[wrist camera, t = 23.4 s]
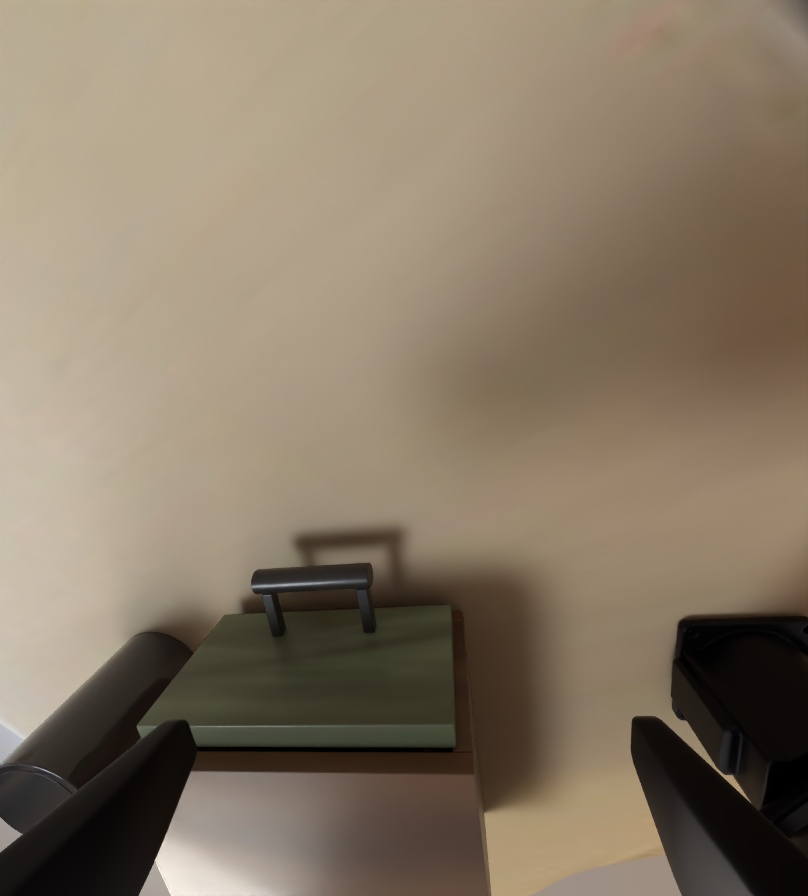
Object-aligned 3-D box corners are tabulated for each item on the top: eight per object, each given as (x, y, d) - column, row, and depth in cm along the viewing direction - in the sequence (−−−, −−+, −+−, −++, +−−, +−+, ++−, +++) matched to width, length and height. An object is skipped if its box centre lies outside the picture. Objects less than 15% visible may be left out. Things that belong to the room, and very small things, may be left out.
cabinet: (228, 620, 24) (114, 770, 15) (462, 610, 22) (475, 774, 14) (284, 808, 28) (218, 1003, 20) (484, 814, 26) (503, 1031, 18)
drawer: (207, 557, 21) (104, 652, 15) (443, 542, 20) (444, 641, 13) (280, 800, 26) (227, 951, 20) (473, 805, 25) (484, 971, 18)
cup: (186, 630, 24) (68, 765, 17) (209, 696, 26) (109, 849, 18) (112, 633, 25) (-35, 764, 17) (137, 697, 26) (12, 845, 19)
